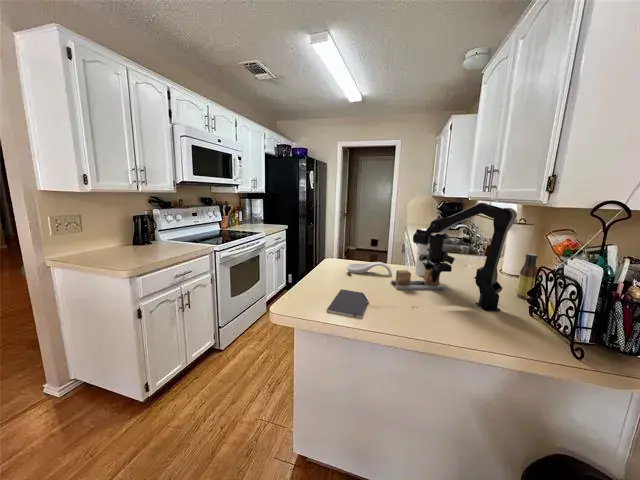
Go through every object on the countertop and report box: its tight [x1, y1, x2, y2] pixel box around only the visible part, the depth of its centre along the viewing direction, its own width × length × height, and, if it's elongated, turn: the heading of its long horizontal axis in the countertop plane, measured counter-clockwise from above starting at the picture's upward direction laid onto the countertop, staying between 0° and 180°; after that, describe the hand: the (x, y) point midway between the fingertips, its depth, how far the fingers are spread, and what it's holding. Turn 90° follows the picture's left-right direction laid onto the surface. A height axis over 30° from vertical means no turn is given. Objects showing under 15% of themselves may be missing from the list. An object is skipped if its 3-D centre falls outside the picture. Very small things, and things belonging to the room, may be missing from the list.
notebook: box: [326, 288, 369, 319], centre depth 108 cm, size 13×2×21 cm
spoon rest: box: [345, 261, 392, 277], centre depth 145 cm, size 24×12×7 cm, turn 76°
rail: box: [389, 279, 446, 292], centre depth 126 cm, size 10×22×3 cm, turn 96°
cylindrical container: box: [414, 228, 435, 277], centre depth 143 cm, size 7×7×25 cm
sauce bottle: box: [516, 252, 539, 300], centre depth 121 cm, size 6×6×20 cm
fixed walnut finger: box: [395, 269, 412, 285], centre depth 125 cm, size 3×6×7 cm, turn 96°
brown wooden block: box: [423, 269, 441, 285], centre depth 126 cm, size 3×6×7 cm, turn 96°
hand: (432, 280), depth 126 cm, fingers closed on brown wooden block, 3 cm apart
